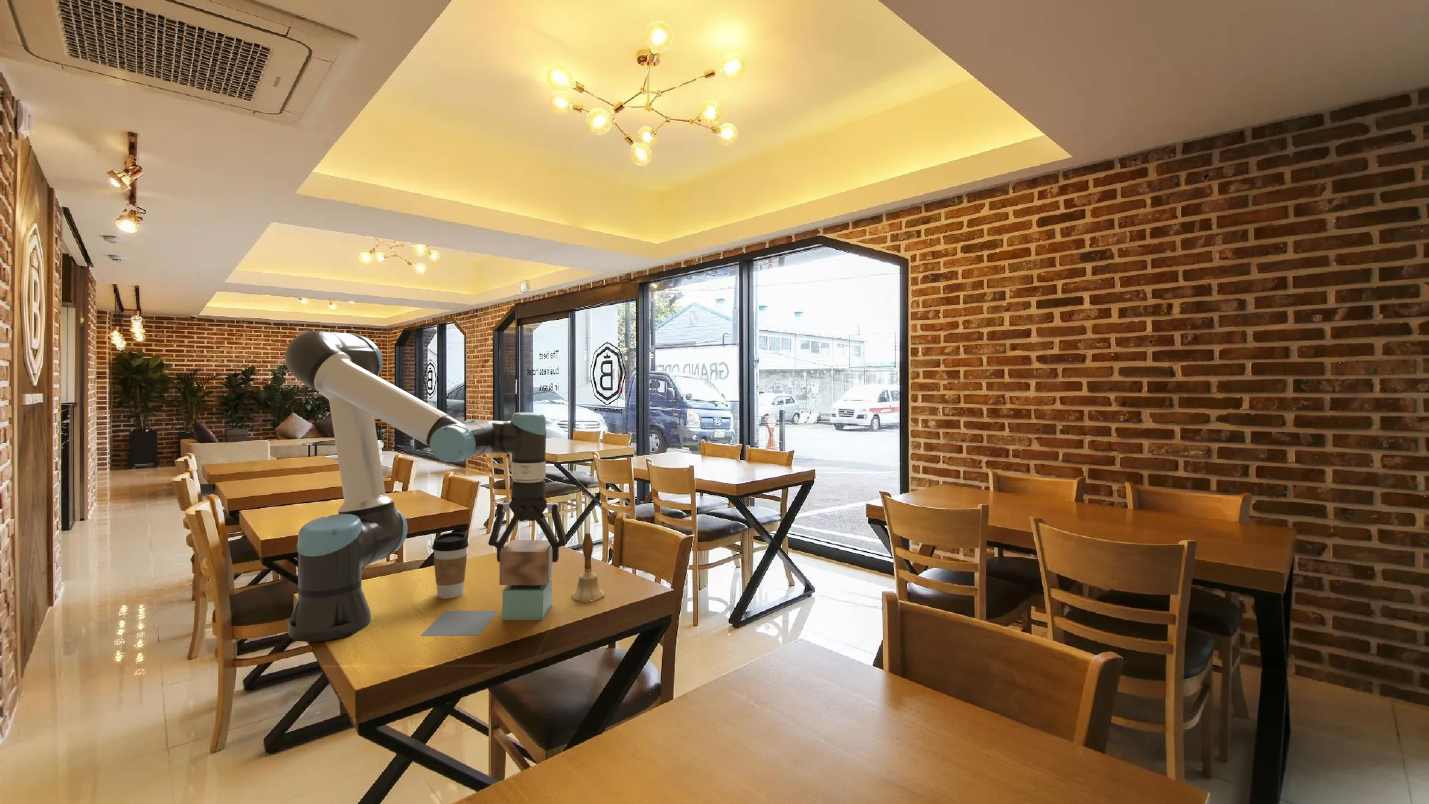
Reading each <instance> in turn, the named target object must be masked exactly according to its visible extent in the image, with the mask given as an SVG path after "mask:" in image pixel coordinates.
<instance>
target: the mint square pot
mask: <svg viewBox="0 0 1429 804" xmlns="http://www.w3.org/2000/svg"><path fill="white" fill-rule="evenodd" d="M552 584H553V577H552V578H549V580H548V581H547V583H546V584H545V585H505V587H504V588H503V590H502V608H501V609H502V610H501V611H502V613H501V614H502V617H501V618H502V621H543V620H544V619H545V617H546V615H547V614H548V612H549V611H550V609H551V608H552V603H553V601H552V599H553V597H552V596H553V595H552V592H553V591H552V590H553V589H552V587H553V585H552Z"/></svg>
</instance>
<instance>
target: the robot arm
mask: <svg viewBox="0 0 1429 804" xmlns="http://www.w3.org/2000/svg"><path fill="white" fill-rule="evenodd" d="M284 359H285V360H284V361H285V365H286V368H287V369H288V371H289V373H290V374H291V375H292V376H293V377H295V379H297V380H298V381H299V382H301V383H303V384H304V385H306V386H308V387H309V388H311V389H313V390H315V391H316V392H319V394H320V395H321V396H323V397H325V398H326V399H327V400H328V401H329V410H330V414H331V415H330V416H331V422H332V429H333V435H334V436H333V437H334V441H335V447H336V456H337V461H338V468H339V469H338V470H339V475H340V480H341V481H340V482H341V487H342V494H343V500H344V501H343V503H342V504H341V506H339V508H338V509H337V512H338V514H332V515H328V516H321V517H318V518H315V519H313V520H310V521H308V522H307V523H305V524H304V525H302V526H301V527H300V529H299V531H298V534H297V535H298V536H297V544H296V551H297V588H298V589H297V590H298V591H297V593H298V596H297V599H296V602H295V605H294V608H293V611H292V613H291V616H290V618H289V619H290V620H289V623H288V629H287V630H288V631H287V632H288V634H287V635H288V637H289V638H290V639H291V640H293V641H298V642H303V643H305V642H307V643H310V642H311V643H312V642H313V643H315V642H326V641H331V640H330V639H333V640H336V639H335V638H337V639H341V638H345V637H348V635H349V636H352V635H354V634H357V632H360V631H362V630H363V629H365V628H366V627H367V626H368V625H369V624H370V623H371V619H372V618H371V617H372V615H371V614H372V613H371V609H370V606H369V604H368V601H367V598H366V596H365V594H364V592H363V591H364V590H363V589H362V568H364V567H366V566H370V565H371V564H373V563H375V562H377V561H380V560H383V559H386V558H387V557H389V556H390V555H392V554H394V553H395V552H396V551H398V550H399V549H400V548H401V547H402V545H403V544H404V542H405V541H406V538H407V535H408V521H407V519H406V517H405V515H404V514H403V513H401V512H400V510H399V509H397V507H396V508H395V501H394V499H393V498H391V497H390V496H389V495H387V494H386V491H385V488H386V487H385V483H384V475H383V469H382V463H381V462H382V460H381V457H380V456H381V455H380V450H379V444H378V436H377V435H378V434H377V429H376V421H375V418H377V419H379V420H380V421H382V422H383V423H385V424H388V425H389V426H391V427H393V428H395V429H396V430H398V431H400V432H402V433H405V435H408V436H410V437H412V438H413V439H415V440H417V441H419V442H420V443H422V444H424V445H426V446H428V447H430V450H431V452H432V454H433V455H434V456H435V458H436V459H438V460H439V461H442V462H444V463H458V462H462V461H465V460H469V459H471V458H474V457H478V456H482V455H486V454H506V455H507V454H511V479H512V480H513V481H512V482H511V483H510V485H511V487H510V488H511V490H510V491H511V492H510V493H511V494H510V496H511V497H510V498H511V499H510V501H509V502H504V501H500V502H499V503H498V504H497V505H496V516H495V520H494V524H493V525H492V526H493V527H492V530H491V534H490V536H489V540H488V545H489V546H491V547H495V548H496V561H497V563H500V551H501V550H502V549H503V548H504V547H505V546H506V543H507V541H508V539H510V536H511V534H512V532H513V531H514V529H515V527H516V526H517V524H518V522H519V521H521V522H526V521H530V522H536V524H537V525H538V526H539V527H540V529H541V531H542V533H543V534H544V536H545V539H547V540H548V541H549V543H550V545H551V547H550V549H549V577H548V578H552V579H553V577H554V575H555V563H557V562H558V561H559V558H560V552H559V551H560V550H559V549H560V548H561V547H564V546H565V545H566V544H567V542H568V539H567V535H566V532H565V528H564V524H563V521H562V518H561V514H560V503H559V502H557V501H556V502H552V503H551V502H548V500H546V485H547V484H546V481H545V480H544V479H545V478H546V474H547V472H546V471H547V470H546V469H547V468H546V467H547V466H546V464H547V462H546V459H547V457H546V453H547V452H546V450H547V449H546V448H547V445H546V443H547V434H548V433H547V426H546V425H547V423H546V422H547V421H546V416H545V414H543V413H541V412H532V411H531V412H530V411H529V412H525V411H523V412H515V413H512V415H511V419H510V420H506V421H504V420H490V419H489V420H486V419H485V420H483V419H467V420H464V421H463V422H462V421H460V420H459V419H456V418H455V417H452V416H450V415H449V414H447V413H445V412H444V411H442V410H440V409H438V408H436V407H434V406H432V405H430V404H428V403H427V402H425V401H423V400H421V399H419V398H418V397H416V396H414V395H413V394H411V393H409V392H407V391H405V390H403V389H402V388H399V387H397V386H396V385H394V384H393V383H390V382H388V381H387V380H385V379H383V378H381V377H379V376H380V373H381V372H382V370H383V364H384V359H383V355H382V353H381V350H380V349H379V347H378V345H376V344H375V343H374V342H373V341H372V340H371V339H369V338H367V337H365V336H363V335H359V334H356V333H351V332H349V333H348V332H347V333H345V332H343V333H342V332H334V331H325V330H309V331H305V332H302V333H300V334H298V335H297V336H295V337H293V338H292V340H291V341H290V342H289V344H288V345H287V347H286V349H285V354H284ZM509 509H510V510H511V511H512V513H513V516H512V518H511V519H510V522H509V524H508V525H507V527H506V529H505V530H504V531H503V534H502V535H501V537H500V539H498V538H499V535H500V531H501V528H502V525H503V522H504V519H505V515H506V513H507V512H508V511H509ZM546 509H548V511H549V513H551V517H552V522H553V524H554V529H555V532H556V535H555V533H554V532H553V530H552V528H551V525H549V523H548V521H547V518H546V516H545V514H544V511H545V510H546ZM556 536H557V537H556Z"/></svg>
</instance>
